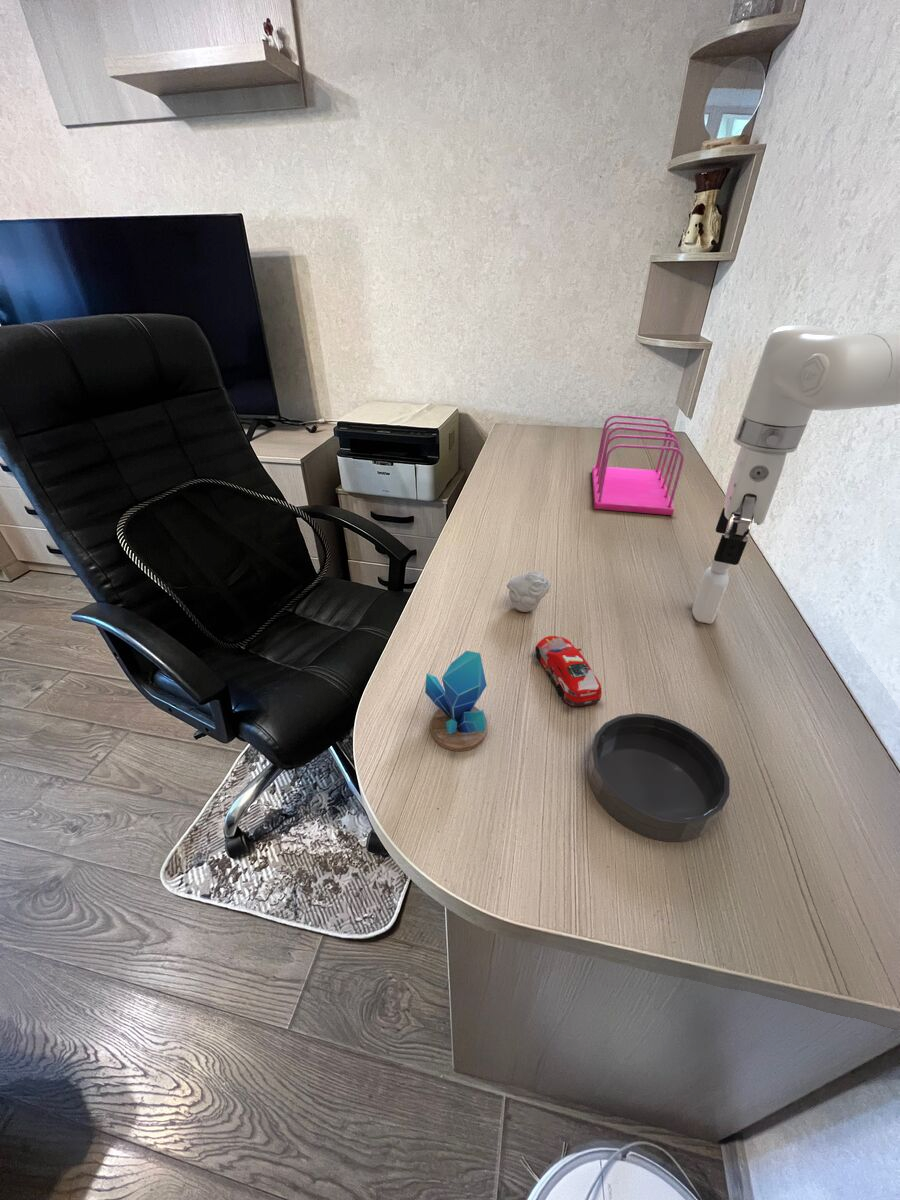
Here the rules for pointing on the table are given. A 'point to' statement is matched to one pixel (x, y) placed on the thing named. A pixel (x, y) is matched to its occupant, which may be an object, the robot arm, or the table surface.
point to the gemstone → (458, 704)
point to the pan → (657, 777)
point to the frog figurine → (528, 590)
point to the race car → (568, 671)
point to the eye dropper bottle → (711, 592)
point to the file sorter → (635, 474)
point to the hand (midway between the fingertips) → (725, 547)
